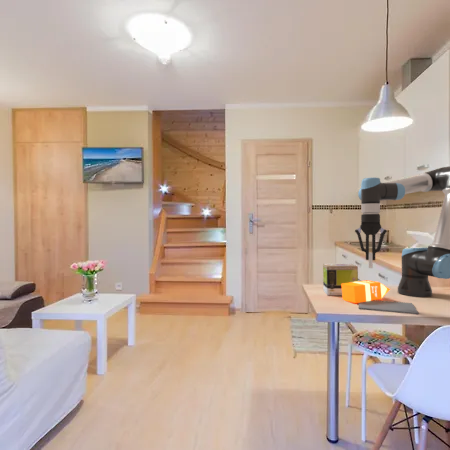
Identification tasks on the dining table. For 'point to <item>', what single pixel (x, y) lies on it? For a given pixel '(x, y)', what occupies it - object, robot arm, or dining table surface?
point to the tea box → (338, 277)
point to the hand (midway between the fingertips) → (370, 267)
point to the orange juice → (363, 291)
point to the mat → (388, 306)
